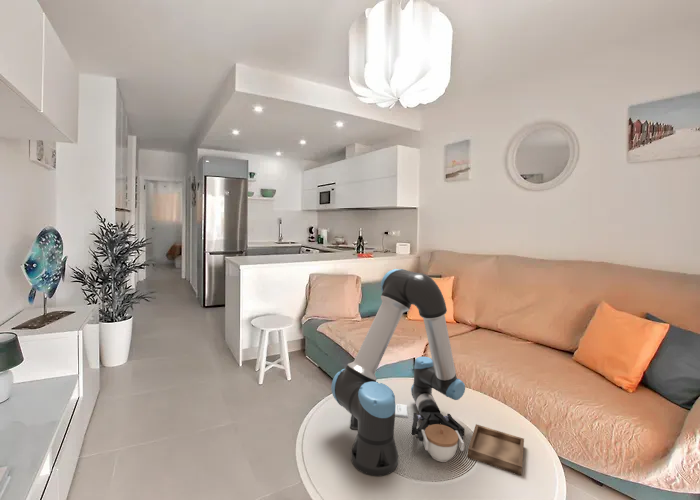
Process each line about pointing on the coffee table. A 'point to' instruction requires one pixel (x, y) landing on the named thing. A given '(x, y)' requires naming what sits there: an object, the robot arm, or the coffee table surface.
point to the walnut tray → (497, 449)
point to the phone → (354, 423)
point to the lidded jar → (441, 442)
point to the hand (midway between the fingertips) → (444, 446)
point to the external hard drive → (401, 411)
